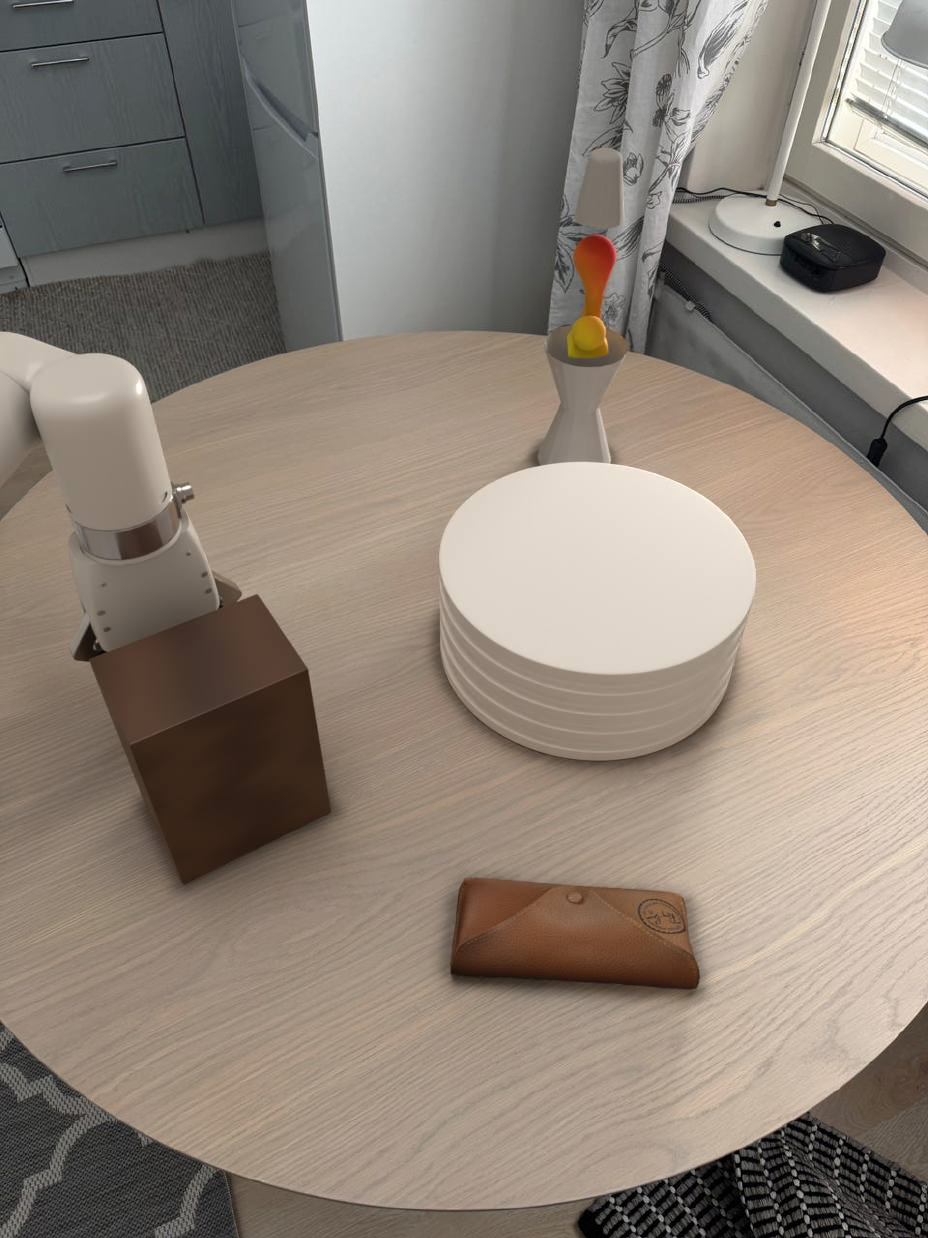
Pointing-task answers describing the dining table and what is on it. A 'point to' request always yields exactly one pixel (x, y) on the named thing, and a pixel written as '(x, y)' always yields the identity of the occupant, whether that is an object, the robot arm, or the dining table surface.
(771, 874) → the dining table surface
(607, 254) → the lava lamp
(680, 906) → the sunglasses case
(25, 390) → the robot arm
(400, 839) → the dining table surface
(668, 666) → the plate stack
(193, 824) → the brown box
